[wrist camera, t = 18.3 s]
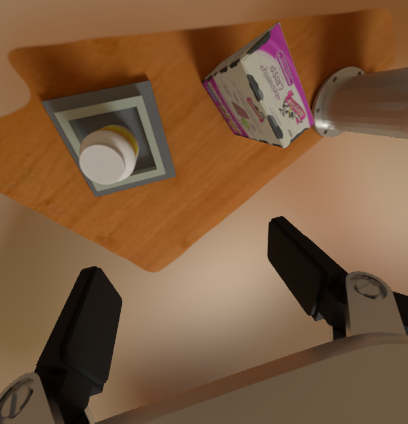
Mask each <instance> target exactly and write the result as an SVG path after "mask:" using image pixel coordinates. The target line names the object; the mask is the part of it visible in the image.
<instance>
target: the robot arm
mask: <svg viewBox="0 0 408 424" xmlns="http://www.w3.org/2000/svg"><path fill="white" fill-rule="evenodd" d="M311 112H312V115H313V118H314V121H315V123H314V124H313V128H314V130H315V131H316V132H317V133H318V134H319V135H321V136H325V137H334V136H337V135H339V134H342V133H343V132H345V131H348V132H356V133H364V134H372V135H380V136H389V137H396V138H404V139H408V67H406V68H400V69H393V70H387V71H381V72H374V73H368V74H365V73H364V72H363V70H361V69H360V68H358V67H354V66H353V67H346V68H342V69H340V70H337V71H336V72H334V73H333V74H332V75H330V76H329V77H328V78H327V79H326V80H325V82H324V83H323V84H322V86H321V87H320V89H319V91H318V92H317V94H316V97H315V99H314V102H313V105H312V111H311ZM267 255H268V259H269V261H270V262H271V264H272V265H273V267H274V268H275V270H276V271H277V272H278V274H279V275H280V277H281V278H282V280H283V281H284V282H285V284H286V285H287V287H288V288H289V290H290V291H291V292H292V294H293V295H294V297H295V298H296V299H297V301H298V302H299V304H300V305H301V307H302V308H303V309H304V311H305V312H306V313H307V314H308V315H309V316H310V315H311V316H312V317H313V318H314V320H315V321H318V320H321V319H325V320H326V322H327V323H328V324H329V325H330V342H328V343H325V344H322V345H319V346H315V347H312V348H309V349H306V350H303V351H300V352H297V353H294V354H291V355H288V356H285V357H283V358H280V359H277V360H274V361H271V362H268V363H265V364H262V365H259V366H256V367H253V368H250V369H248V370H245V371H242V372H239V373H236V374H233V375H230V376H227V377H224V378H222V379H219V380H216V381H213V382H210V383H207V384H204V385H201V386H198V387H195V388H193V389H190V390H187V391H184V392H181V393H178V394H175V395H173V396H170V397H167V398H164V399H161V400H158V401H155V402H153V403H150V404H147V405H144V406H141V407H139V408H136V409H133V410H130V411H127V412H124V413H122V414H119V415H116V416H113V417H110V418H108V419H105V420H102V421H100V422H97V423H96V422H95V420H94V418H93V416H92V414H91V412H90V410H89V408H88V402H89V397H90V396H92V395H95V394H98V393H101V392H102V391H103V386H104V383H106V381H107V379H108V376H109V370H110V366H111V360H112V355H113V349H114V344H115V339H116V334H117V328H118V323H119V318H120V312H121V307H122V299H121V297H120V295H119V294H118V292H117V291H116V289H115V288H114V286H113V285H112V284H111V282H110V281H109V280H108V278H107V276H106V275H105V274H104V272H103V271H102V269H101V268H97V267H96V266H93V267H89V268H85V269H83V270H81V272H80V274H79V276H78V278H77V280H76V282H75V284H74V287H73V289H72V291H71V293H70V296H69V297H68V299H67V301H66V304H65V305H64V308H63V310H62V312H61V314H60V316H59V318H58V320H57V322H56V324H55V327H54V329H53V331H52V333H51V335H50V337H49V339H48V341H47V343H46V345H45V348H44V350H43V352H42V354H41V356H40V358H39V360H38V363H37V364H36V366H37V367H36V369H35V371H34V373H33V372H31V373H26V374H24V375H22V376H20V377H18V378H17V379H16V380H14V381H13V382H12V383H10V385H8V386H7V387H6V388H5V389H4V390H3V392H2V393H1V394H0V424H408V296H406V295H403V294H400V293H396V292H393V291H392V290H391V289H390V287H389V286H388V285H387V284H386V283H385V282H384V281H383V280H381V279H380V278H378V277H376V276H374V275H372V274H369V273H366V272H360V271H357V272H351V273H349V274H348V273H347V272H346V271H345V270H344V269H342V268H341V267H340V266H339V265H338V264H337V263H336V262H335V261H334V260H332V259H331V258H330V257H329V256H328V255H327V254H326V253H325V252H323V251H322V250H321V249H320V248H319V247H318V246H317V245H316V244H314V243H313V242H312V241H311V240H310V239H309V238H308V237H306V236H305V235H303V234H302V233H301V232H300V231H299V230H298V229H297V228H295V227H294V226H293V225H292V224H291V223H290V222H289V221H288V220H287V219H286V218H284V217H283V216H280V217H276V218H273V219H271V222H269V228H268V254H267Z"/></svg>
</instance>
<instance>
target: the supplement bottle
mask: <svg viewBox="0 0 408 424" xmlns="http://www.w3.org/2000/svg"><path fill="white" fill-rule="evenodd" d="M138 153H139V143H138V140H137V138H136V137H135V135H134V134H133V133H132V132H131V131H130V130H129V129H127V128H126V127H124V126H121V125H108V126H105V127H103V128H101V129H99V130H97V131H95V132H92V133H91V134H89V135H87V136H86V137H85V138H84V139H83V141H82V143H81V145H80V150H79V155H80V157H79V164H80V168H81V170H82V172H83V173H84V174H85V175H86V176H87V177H88V178H89V179H90V180H92V181H94V182H96V183H99V184H112V183H115V182H119V181H122V180H124V179H126V178H127V177H128V176H130V174H131V173H132V172H133V170H134V167H135V164H136V160H137V157H138Z"/></svg>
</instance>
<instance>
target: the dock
mask: <svg viewBox="0 0 408 424" xmlns="http://www.w3.org/2000/svg"><path fill="white" fill-rule="evenodd" d="M41 102H42V104H43V105H44V107H45V109H46V111H47V113H48V114H49V116H50V118H51V120H52V121H53V123H54V125H55V127H56V128H57V130H58V132H59V134H60V135H61V137H62V139H63V141H64V142H65V144H66V146H67V148H68V150H69V151H70V153H71V155H72V157H73V158H74V160H75V162H76V164H77V165H78V167H79V169H80V171H81V172H82V170H81V168H80V164H79V157H80V155H79V150H80V145H81V143H82V141H83V139H84V138H85V137H86V136H87V135H89V134H91V133H92V132H95V131H97V130H99V129H101V128H103V127H105V126H108V125H121V126H124V127H126V128H127V129H129V130H130V131H131V132H132V133H133V134H134V135H135V137H136V138H137V140H138V143H139V153H138V157H137V160H136V164H135V167H134V170H133V172H132V173H131V174H130V176H128V177H127V178H126V179H124V180H122V181H119V182H115V183H112V184H99V183H96V182H94V181H92V180H90V179H89V178H88V177H87V176H86V175H85V174H84V173H83V172H82V174H83V176H84V178H85V180H86V181H87V183H88V185H89V187H90V188H91V190H92V192H93V194H94V195H95V197H98V196H102V195H106V194H110V193H114V192H118V191H121V190H125V189H129V188H133V187H137V186H141V185H144V184H148V183H152V182H156V181H160V180H164V179H167V178H171V177H175V176H176V174H175V170H174V167H173V163H172V159H171V156H170V152H169V148H168V145H167V141H166V138H165V134H164V130H163V127H162V123H161V119H160V116H159V112H158V109H157V105H156V101H155V98H154V94H153V90H152V87H151V83H150V81H144V82H139V83H134V84H129V85H124V86H119V87H113V88H108V89H103V90H98V91H93V92H88V93H82V94H77V95H72V96H67V97H62V98H57V99H51V100H46V101H41Z"/></svg>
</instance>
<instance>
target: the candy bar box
mask: <svg viewBox="0 0 408 424" xmlns="http://www.w3.org/2000/svg"><path fill="white" fill-rule="evenodd" d="M201 83H202V85H203V86H204V88H205V89H206V91H207V92H208V94H209V95H210V97H211V98H212V100H213V102H214V103H215V105H216V106H217V108H218V109H219V111H220V112H221V114H222V116H223V117H224V119H225V120H226V122H227V123H228V125H229V126H230V128H231V130H232V131H233V133H234V134H235V135H239V136H242V137H246V138H250V139H253V140H257V141H260V142H264V143H268V144H271V145H275V146H278V147H282V148H286V147H287V146H288V145H289V144H290V143H292V142H293V141H294V140H295V139H296V138H297V137H298V136H299V135H301V134H302V133H303V132H304V130H307V129H308V128H310V127H311V126H312V125H313V124H314V123H315V121H314V118H313V115H312V112H311V109H310V106H309V104H308V101H307V99H306V96H305V93H304V90H303V87H302V84H301V81H300V79H299V76H298V73H297V70H296V67H295V65H294V62H293V59H292V56H291V53H290V50H289V48H288V45H287V42H286V39H285V36H284V33H283V30H282V28H281V25H280V22H278V23H276V24H275V25H273V26H272V27H270V28H269V29H268V30H266V31H265V32H264V33H262V34H261V35H260V36H258V37H257V38H255V39H254V40H252V41H251V42H249V43H248V44H247V45H245V46H244V47H242V48H241V49H239V50H238V51H236V52H235V53H234V54H232V55H231V56H229V57H228V58H227V59H225V60H224V61H223V62H221V63H220V64H219V65H218V66H217V67H216V68H215V69H214V70H213V71H212V72H211V73H210V74H209V75H208V76H207V77H206V78H205V79H204V80H203V81H202V82H201Z"/></svg>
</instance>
